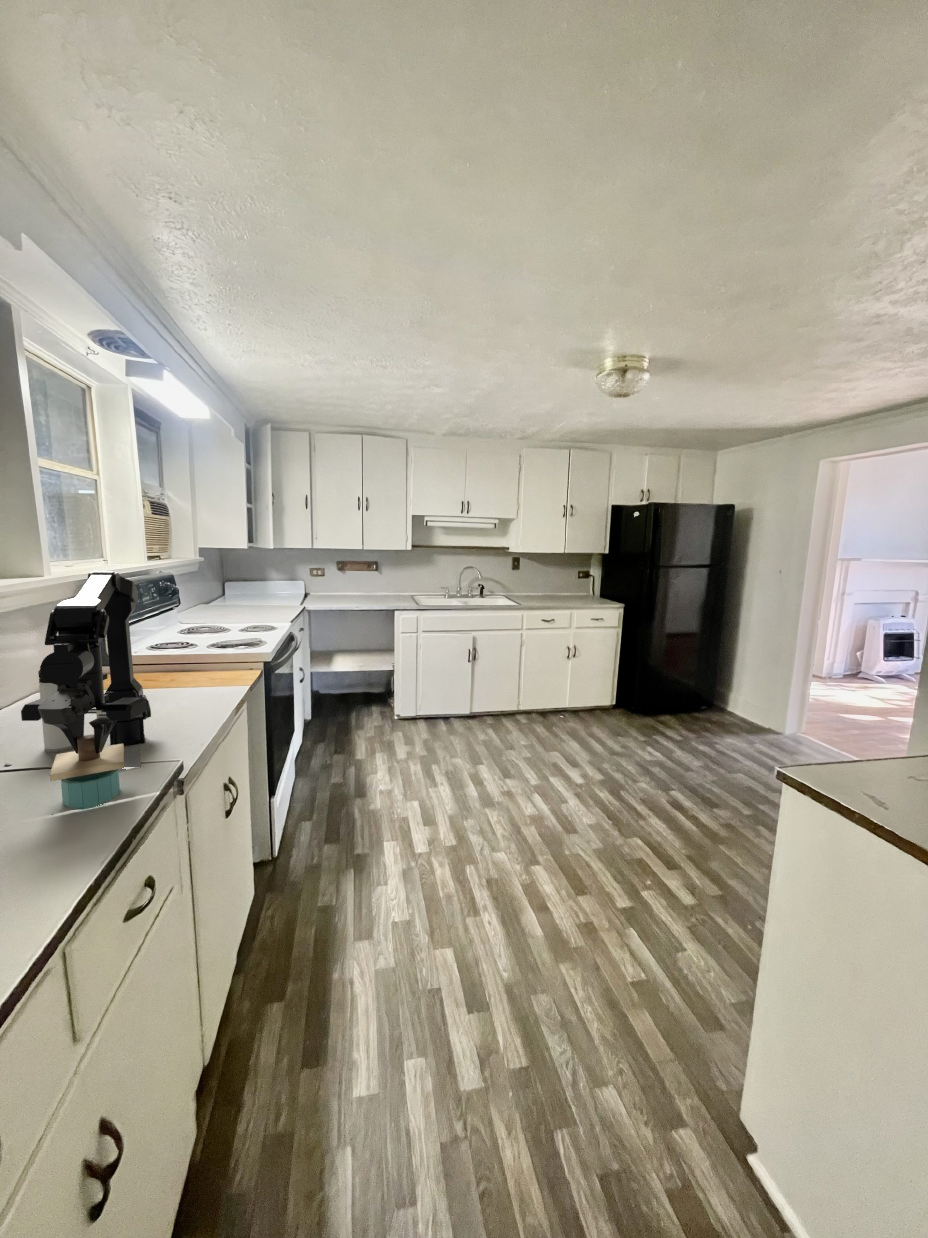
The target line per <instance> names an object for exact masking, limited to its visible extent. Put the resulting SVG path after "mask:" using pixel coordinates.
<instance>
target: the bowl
mask: <svg viewBox="0 0 928 1238" xmlns="http://www.w3.org/2000/svg"><path fill="white" fill-rule="evenodd" d="M60 785H61V786H60V787H61V796H62V805H63V806H66V807H67V808H74V809H71V810H73V811H75V810H77V811H78V810H79V811H80V810H87V809H92V808H96V806H97V807H99V806H98V805H100V804H103V803H105V802H108V801H109V800H112V799H114V798H115V797H116V796H117V795H119V794H120V788H121V787H120V772H119V770H118V769H115V770H110V771H104V772H99V773H93V774H88V775H82V776H77V777H71V778H66V779H61V780H60ZM103 805H104V804H103Z"/></svg>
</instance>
